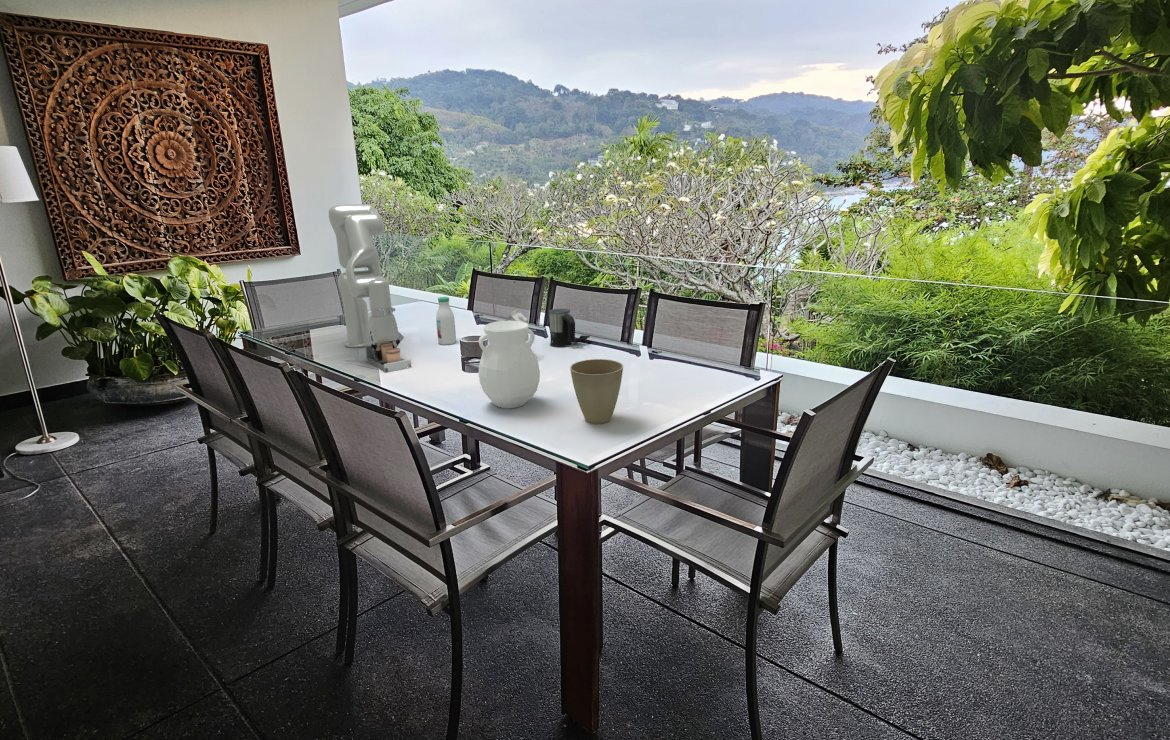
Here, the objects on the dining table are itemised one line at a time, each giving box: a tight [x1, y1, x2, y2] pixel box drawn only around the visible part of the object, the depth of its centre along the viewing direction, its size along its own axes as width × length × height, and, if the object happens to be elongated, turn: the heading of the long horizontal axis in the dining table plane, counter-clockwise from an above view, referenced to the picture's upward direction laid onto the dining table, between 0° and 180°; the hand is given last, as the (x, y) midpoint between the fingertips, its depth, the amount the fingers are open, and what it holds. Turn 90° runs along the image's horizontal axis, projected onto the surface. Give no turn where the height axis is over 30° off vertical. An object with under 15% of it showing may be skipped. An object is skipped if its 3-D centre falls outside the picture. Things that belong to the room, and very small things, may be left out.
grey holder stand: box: [365, 346, 412, 373], centre depth 236 cm, size 20×10×6 cm, turn 37°
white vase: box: [478, 320, 541, 409], centre depth 188 cm, size 19×18×25 cm
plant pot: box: [569, 358, 624, 425], centre depth 174 cm, size 15×15×16 cm
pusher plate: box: [373, 341, 390, 363], centre depth 243 cm, size 8×7×7 cm
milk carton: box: [504, 308, 530, 342], centre depth 239 cm, size 7×7×19 cm
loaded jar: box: [385, 347, 401, 364], centre depth 232 cm, size 5×5×7 cm
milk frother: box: [548, 308, 591, 348], centre depth 260 cm, size 14×16×15 cm
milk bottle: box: [436, 296, 457, 346], centre depth 265 cm, size 8×8×20 cm
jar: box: [380, 342, 393, 363], centre depth 237 cm, size 5×5×7 cm
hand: (387, 358), depth 238 cm, fingers closed on jar, 5 cm apart
